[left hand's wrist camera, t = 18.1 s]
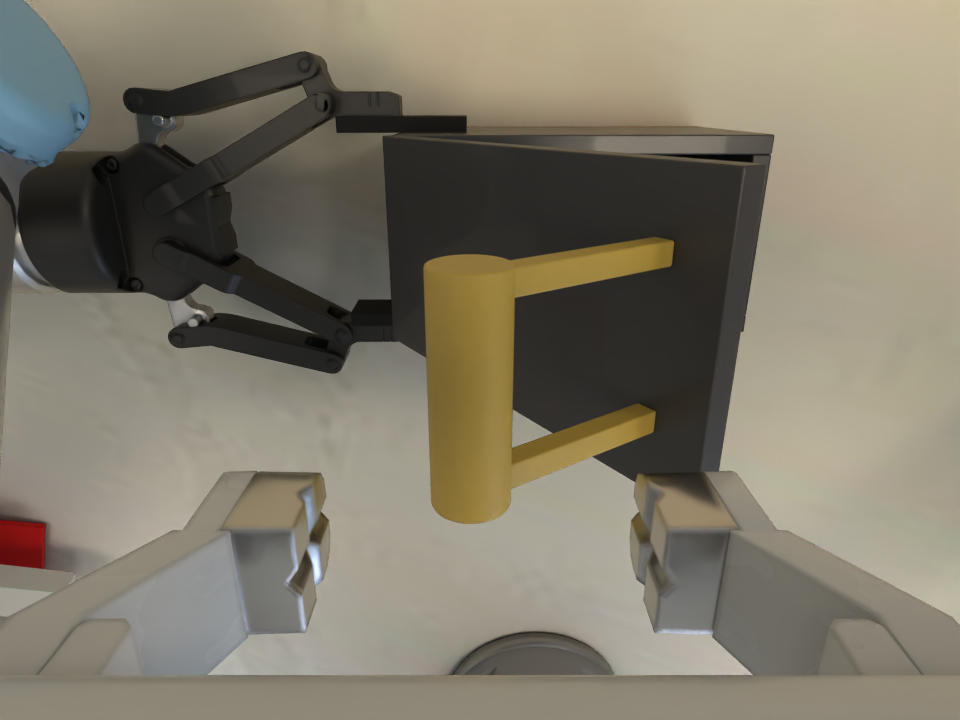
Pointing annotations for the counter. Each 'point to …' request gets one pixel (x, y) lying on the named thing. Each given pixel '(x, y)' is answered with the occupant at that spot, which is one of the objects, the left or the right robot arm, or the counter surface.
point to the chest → (635, 145)
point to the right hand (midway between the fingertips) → (467, 222)
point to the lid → (567, 307)
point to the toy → (25, 567)
